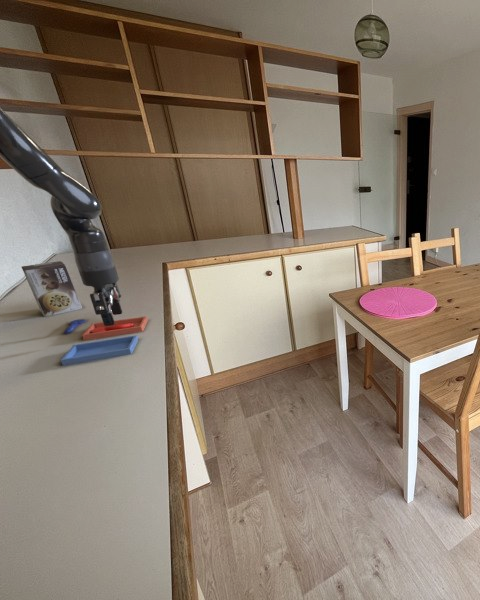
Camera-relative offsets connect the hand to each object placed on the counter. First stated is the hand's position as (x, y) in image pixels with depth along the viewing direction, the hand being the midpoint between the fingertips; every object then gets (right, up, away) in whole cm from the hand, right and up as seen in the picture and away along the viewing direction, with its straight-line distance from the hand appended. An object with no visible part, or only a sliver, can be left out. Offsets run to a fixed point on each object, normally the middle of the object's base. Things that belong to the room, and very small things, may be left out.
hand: (114, 319), depth 92 cm
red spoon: (-1, -3, +1) cm, 3 cm away
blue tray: (+7, -8, -10) cm, 15 cm away
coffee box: (-29, +2, +13) cm, 32 cm away
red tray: (0, -4, +1) cm, 4 cm away
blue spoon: (-14, -3, +2) cm, 14 cm away
